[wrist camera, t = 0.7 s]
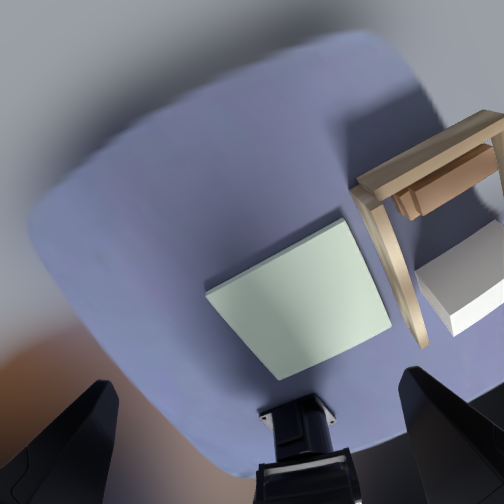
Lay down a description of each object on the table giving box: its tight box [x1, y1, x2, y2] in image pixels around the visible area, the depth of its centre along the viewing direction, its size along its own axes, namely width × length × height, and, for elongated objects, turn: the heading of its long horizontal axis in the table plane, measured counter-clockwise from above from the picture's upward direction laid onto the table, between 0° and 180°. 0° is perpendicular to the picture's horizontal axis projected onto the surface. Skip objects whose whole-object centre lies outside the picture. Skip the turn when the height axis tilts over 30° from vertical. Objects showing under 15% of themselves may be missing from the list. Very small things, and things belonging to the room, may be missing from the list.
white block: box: [415, 219, 504, 337], centre depth 20 cm, size 2×9×6 cm, turn 121°
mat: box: [205, 217, 392, 380], centre depth 24 cm, size 11×11×1 cm
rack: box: [349, 110, 504, 349], centre depth 19 cm, size 14×14×4 cm
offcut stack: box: [391, 143, 498, 221], centre depth 18 cm, size 2×8×3 cm, turn 124°
